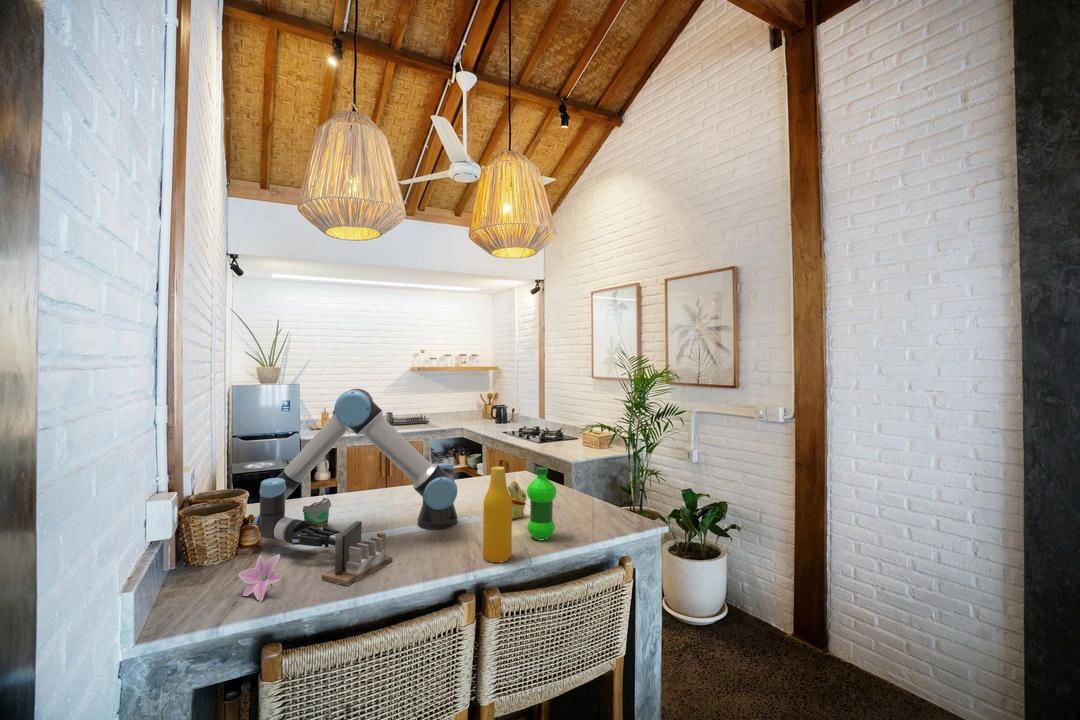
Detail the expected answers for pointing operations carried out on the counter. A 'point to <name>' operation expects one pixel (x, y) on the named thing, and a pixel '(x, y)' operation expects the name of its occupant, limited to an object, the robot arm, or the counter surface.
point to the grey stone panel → (351, 539)
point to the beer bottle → (497, 518)
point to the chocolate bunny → (517, 500)
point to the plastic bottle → (541, 505)
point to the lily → (260, 576)
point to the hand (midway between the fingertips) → (348, 542)
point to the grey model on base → (357, 559)
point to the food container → (317, 513)
